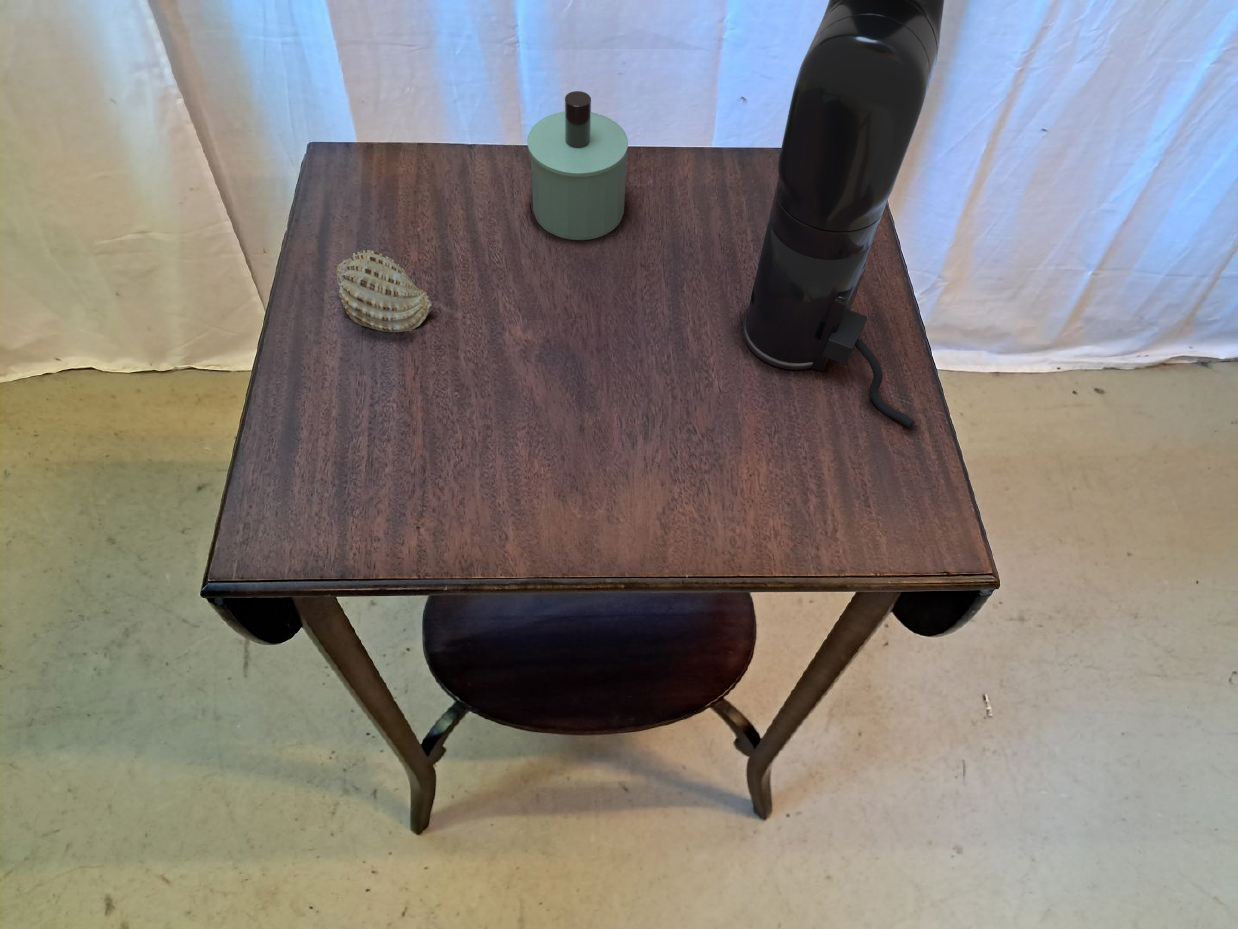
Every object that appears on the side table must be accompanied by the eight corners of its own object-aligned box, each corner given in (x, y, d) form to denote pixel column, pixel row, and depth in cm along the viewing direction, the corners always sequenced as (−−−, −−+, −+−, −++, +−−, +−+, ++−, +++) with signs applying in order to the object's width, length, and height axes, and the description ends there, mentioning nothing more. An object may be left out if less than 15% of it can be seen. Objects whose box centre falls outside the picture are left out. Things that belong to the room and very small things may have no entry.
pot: (622, 181, 101) (626, 116, 94) (624, 241, 96) (628, 176, 89) (535, 179, 101) (532, 114, 94) (531, 239, 95) (528, 174, 88)
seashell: (431, 304, 93) (338, 262, 90) (449, 268, 88) (352, 223, 85) (411, 358, 89) (313, 317, 85) (429, 324, 84) (326, 279, 81)
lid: (626, 120, 95) (629, 69, 90) (628, 183, 89) (632, 132, 84) (529, 118, 94) (527, 66, 89) (525, 180, 88) (522, 129, 84)
